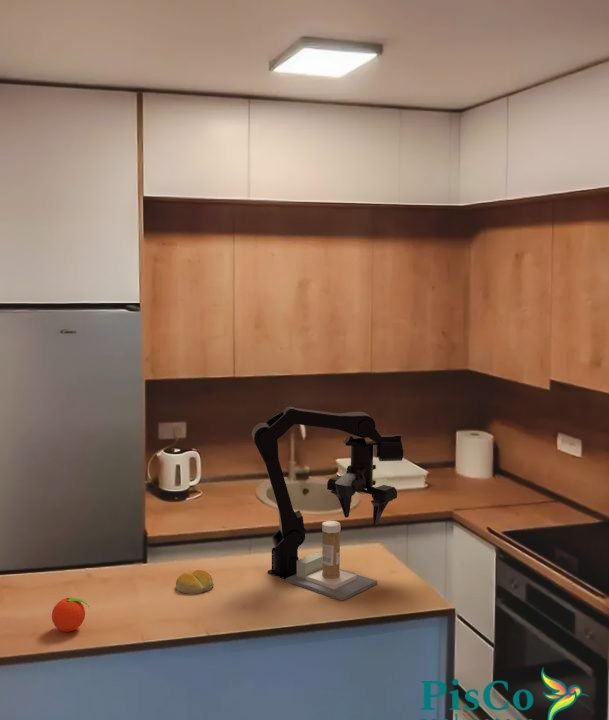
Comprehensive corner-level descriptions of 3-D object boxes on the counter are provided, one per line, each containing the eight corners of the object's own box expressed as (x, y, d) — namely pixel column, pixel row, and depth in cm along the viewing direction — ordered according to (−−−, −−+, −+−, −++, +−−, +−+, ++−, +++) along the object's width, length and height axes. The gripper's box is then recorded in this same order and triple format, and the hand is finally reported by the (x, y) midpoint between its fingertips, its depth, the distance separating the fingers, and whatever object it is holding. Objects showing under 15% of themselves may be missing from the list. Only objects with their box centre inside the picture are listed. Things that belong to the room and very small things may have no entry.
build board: (285, 581, 202) (285, 562, 201) (321, 566, 212) (321, 548, 212) (342, 600, 190) (342, 581, 189) (377, 583, 200) (377, 565, 200)
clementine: (92, 621, 178) (91, 590, 177) (89, 635, 171) (88, 603, 170) (54, 624, 176) (53, 592, 176) (49, 638, 169) (48, 605, 169)
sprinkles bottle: (343, 576, 200) (344, 523, 199) (328, 580, 198) (329, 526, 196) (332, 570, 204) (333, 519, 203) (318, 574, 202) (318, 522, 200)
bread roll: (170, 586, 198) (170, 570, 198) (204, 579, 203) (204, 564, 203) (184, 598, 191) (184, 581, 191) (218, 590, 196) (218, 574, 196)
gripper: (313, 461, 207) (313, 520, 209) (372, 473, 195) (371, 536, 197) (340, 454, 215) (339, 511, 217) (398, 465, 203) (397, 525, 205)
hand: (360, 520), depth 209 cm, fingers open, 9 cm apart
